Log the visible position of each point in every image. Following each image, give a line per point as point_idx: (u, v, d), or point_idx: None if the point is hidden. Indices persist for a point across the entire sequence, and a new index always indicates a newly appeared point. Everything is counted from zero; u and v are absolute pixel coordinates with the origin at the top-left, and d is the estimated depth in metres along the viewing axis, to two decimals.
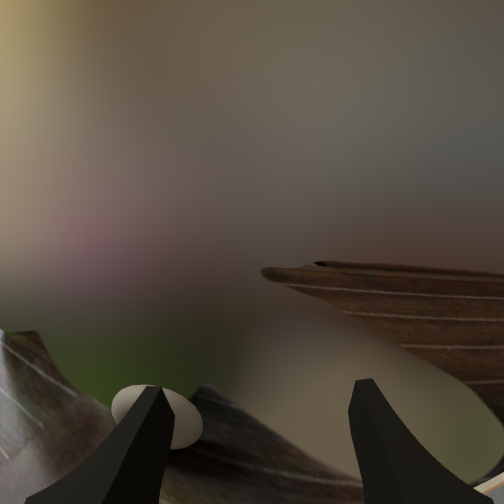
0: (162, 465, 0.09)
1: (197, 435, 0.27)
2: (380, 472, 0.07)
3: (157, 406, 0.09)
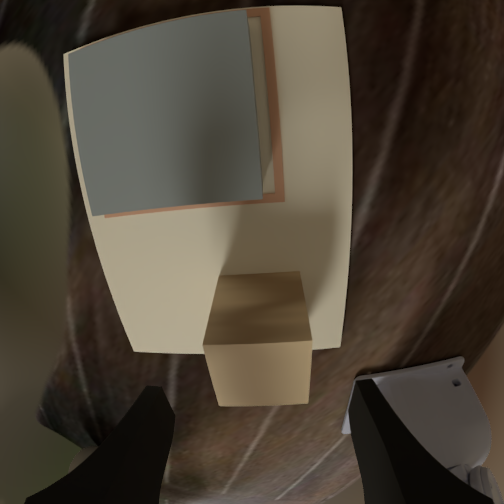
0: (162, 465, 0.09)
1: None
2: (380, 472, 0.07)
3: (157, 406, 0.09)
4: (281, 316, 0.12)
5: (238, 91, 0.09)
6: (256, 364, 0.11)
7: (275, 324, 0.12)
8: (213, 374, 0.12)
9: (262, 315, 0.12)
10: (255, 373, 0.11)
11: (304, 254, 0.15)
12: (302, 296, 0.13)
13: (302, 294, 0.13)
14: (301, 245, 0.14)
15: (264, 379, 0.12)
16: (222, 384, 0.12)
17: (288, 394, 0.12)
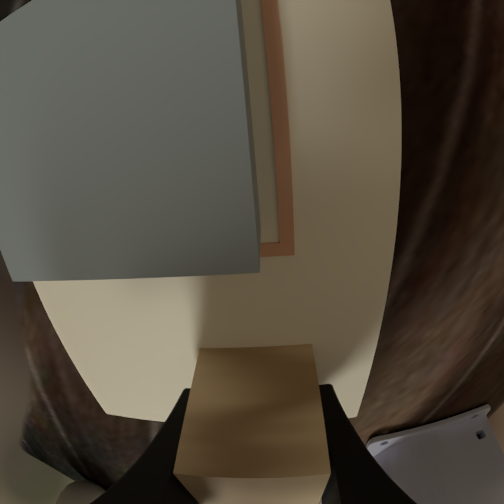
0: None
1: (76, 500, 0.18)
2: (329, 481, 0.07)
3: None
4: (286, 430, 0.07)
5: (211, 72, 0.04)
6: (250, 490, 0.06)
7: (278, 445, 0.07)
8: (193, 492, 0.07)
9: (259, 427, 0.07)
10: (248, 495, 0.07)
11: (320, 324, 0.10)
12: (316, 392, 0.08)
13: (316, 388, 0.09)
14: (316, 313, 0.10)
15: (260, 498, 0.07)
16: (206, 498, 0.07)
17: None
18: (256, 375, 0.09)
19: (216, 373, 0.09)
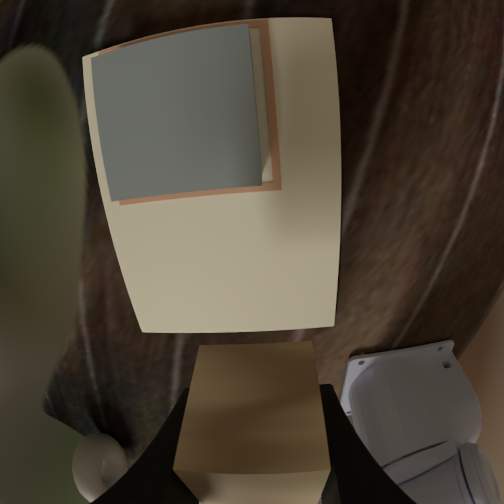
0: None
1: (94, 447, 0.24)
2: (329, 481, 0.07)
3: None
4: (286, 426, 0.07)
5: (241, 94, 0.11)
6: (250, 486, 0.07)
7: (278, 441, 0.07)
8: (193, 489, 0.07)
9: (259, 423, 0.07)
10: (248, 492, 0.07)
11: (299, 237, 0.16)
12: (316, 388, 0.08)
13: (316, 384, 0.09)
14: (296, 229, 0.16)
15: (260, 495, 0.07)
16: (206, 496, 0.07)
17: (292, 502, 0.07)
18: (256, 372, 0.09)
19: (216, 370, 0.09)
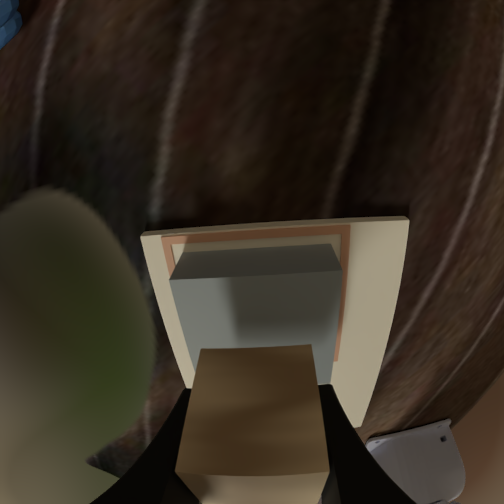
0: None
1: None
2: (329, 481, 0.07)
3: None
4: (286, 429, 0.07)
5: (326, 330, 0.13)
6: (251, 488, 0.07)
7: (278, 444, 0.07)
8: (194, 490, 0.07)
9: (259, 426, 0.08)
10: (249, 493, 0.07)
11: (345, 385, 0.19)
12: (316, 391, 0.09)
13: (316, 388, 0.09)
14: (344, 381, 0.18)
15: (261, 497, 0.07)
16: (207, 497, 0.07)
17: (292, 503, 0.07)
18: (256, 375, 0.09)
19: (217, 373, 0.10)
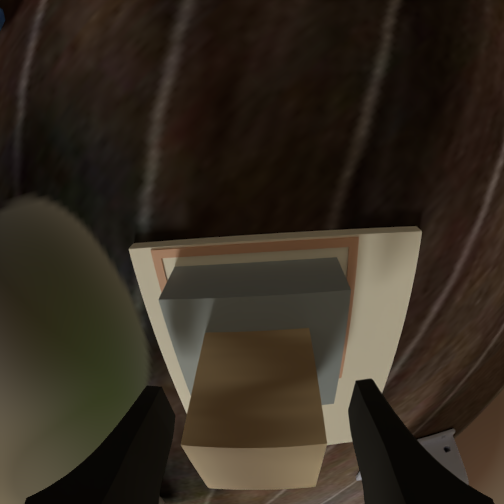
0: (162, 465, 0.09)
1: None
2: (380, 472, 0.07)
3: (157, 406, 0.09)
4: (285, 404, 0.08)
5: (331, 352, 0.12)
6: (253, 462, 0.07)
7: (277, 418, 0.08)
8: (198, 467, 0.08)
9: (261, 402, 0.08)
10: (251, 469, 0.08)
11: (348, 401, 0.17)
12: (313, 370, 0.09)
13: (313, 367, 0.09)
14: (347, 397, 0.17)
15: (262, 473, 0.08)
16: (210, 475, 0.08)
17: (292, 482, 0.08)
18: (257, 356, 0.10)
19: (220, 354, 0.10)
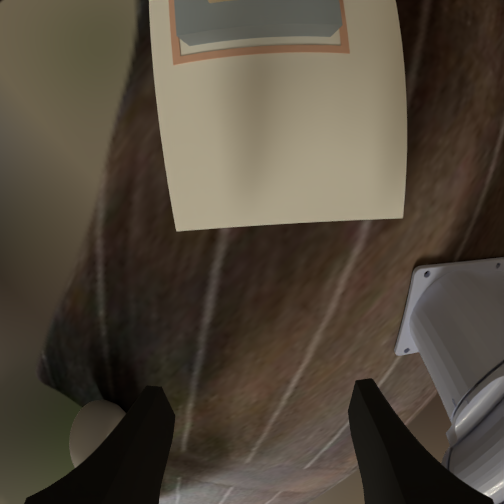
0: (162, 465, 0.09)
1: (97, 415, 0.21)
2: (380, 472, 0.07)
3: (157, 406, 0.09)
4: None
5: None
6: None
7: None
8: None
9: None
10: None
11: (368, 103, 0.13)
12: None
13: None
14: (365, 94, 0.13)
15: None
16: None
17: None
18: None
19: None
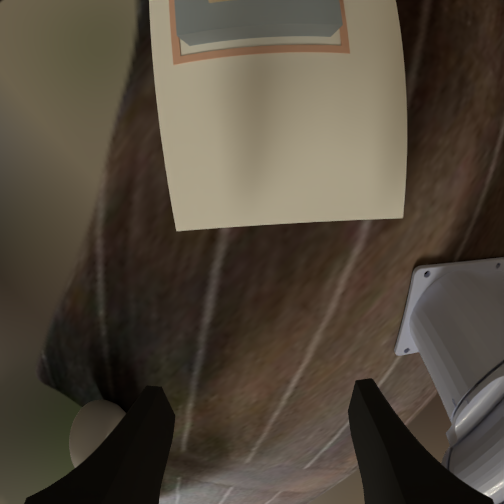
0: (162, 465, 0.09)
1: (97, 415, 0.21)
2: (380, 472, 0.07)
3: (157, 406, 0.09)
4: None
5: None
6: None
7: None
8: None
9: None
10: None
11: (368, 103, 0.13)
12: None
13: None
14: (365, 94, 0.13)
15: None
16: None
17: None
18: None
19: None
